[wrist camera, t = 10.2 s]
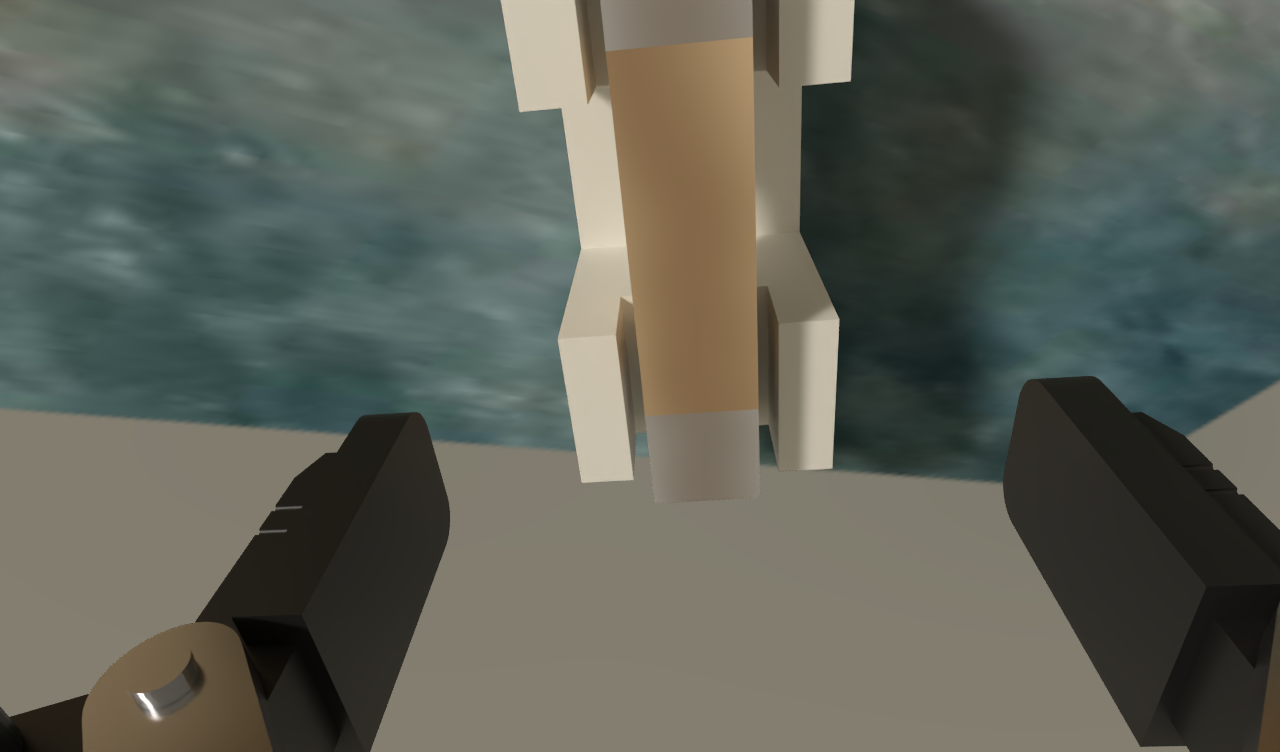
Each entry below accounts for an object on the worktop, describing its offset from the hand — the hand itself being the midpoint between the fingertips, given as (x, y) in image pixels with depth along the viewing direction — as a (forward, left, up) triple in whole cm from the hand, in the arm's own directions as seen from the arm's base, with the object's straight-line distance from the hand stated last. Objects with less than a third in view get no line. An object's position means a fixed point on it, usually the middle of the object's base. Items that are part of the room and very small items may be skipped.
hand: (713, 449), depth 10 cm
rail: (0, 0, -12) cm, 12 cm away
